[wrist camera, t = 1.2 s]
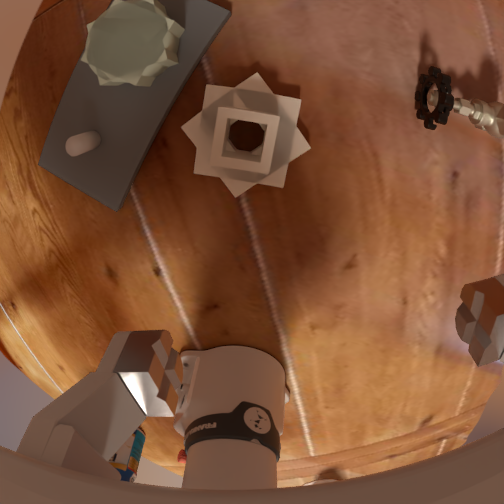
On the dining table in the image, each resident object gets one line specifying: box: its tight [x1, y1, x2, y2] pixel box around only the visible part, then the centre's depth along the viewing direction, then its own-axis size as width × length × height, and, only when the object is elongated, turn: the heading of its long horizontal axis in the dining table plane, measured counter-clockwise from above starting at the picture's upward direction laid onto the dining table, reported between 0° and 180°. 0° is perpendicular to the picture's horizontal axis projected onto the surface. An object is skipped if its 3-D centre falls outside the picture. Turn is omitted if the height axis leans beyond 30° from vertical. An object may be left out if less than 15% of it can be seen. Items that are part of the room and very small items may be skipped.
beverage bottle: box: [108, 428, 145, 482], centre depth 48 cm, size 8×8×20 cm
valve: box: [415, 66, 504, 138], centre depth 25 cm, size 7×7×12 cm
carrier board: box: [38, 0, 231, 212], centre depth 26 cm, size 24×12×6 cm, turn 148°
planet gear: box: [181, 72, 311, 198], centre depth 28 cm, size 13×13×5 cm
